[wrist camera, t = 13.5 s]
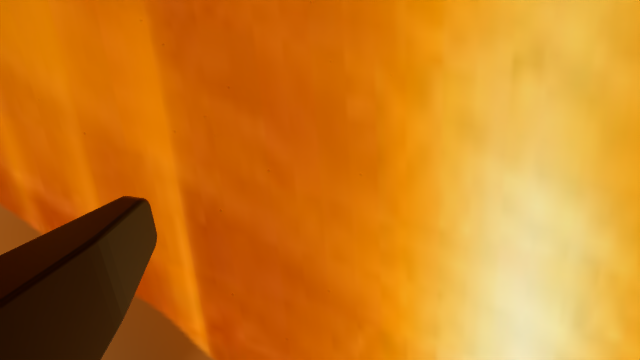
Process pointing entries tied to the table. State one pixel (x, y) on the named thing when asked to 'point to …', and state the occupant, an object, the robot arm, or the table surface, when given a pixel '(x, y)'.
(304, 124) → the table surface
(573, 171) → the table surface
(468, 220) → the table surface
